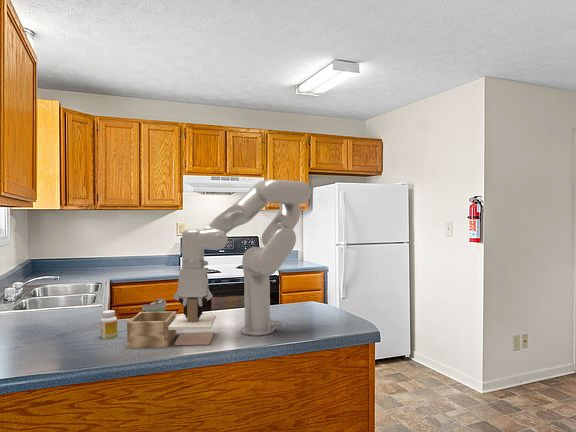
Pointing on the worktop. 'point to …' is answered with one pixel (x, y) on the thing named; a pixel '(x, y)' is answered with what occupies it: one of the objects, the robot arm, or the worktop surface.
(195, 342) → the plate
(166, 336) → the oak box
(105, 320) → the supplement bottle
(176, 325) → the lid
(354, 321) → the worktop surface
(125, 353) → the worktop surface
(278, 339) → the worktop surface
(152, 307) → the food container
